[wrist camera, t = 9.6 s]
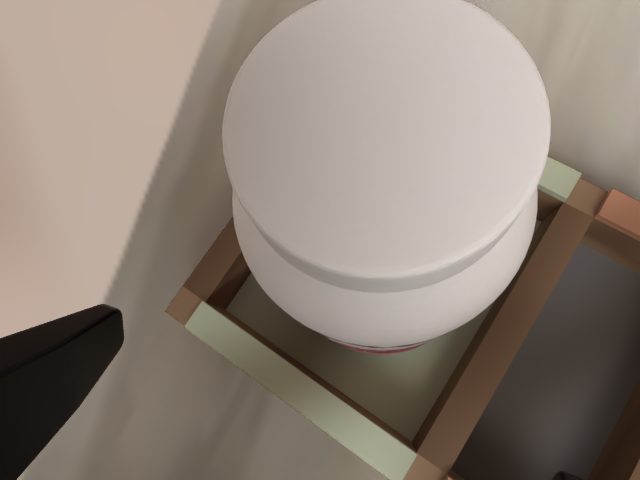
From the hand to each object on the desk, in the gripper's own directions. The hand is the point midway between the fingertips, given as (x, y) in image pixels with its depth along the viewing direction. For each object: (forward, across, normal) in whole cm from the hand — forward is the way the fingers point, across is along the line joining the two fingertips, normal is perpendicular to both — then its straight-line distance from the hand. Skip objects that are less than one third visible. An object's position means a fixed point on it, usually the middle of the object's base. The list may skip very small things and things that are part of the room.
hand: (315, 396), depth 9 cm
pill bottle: (+8, 0, +2) cm, 9 cm away
